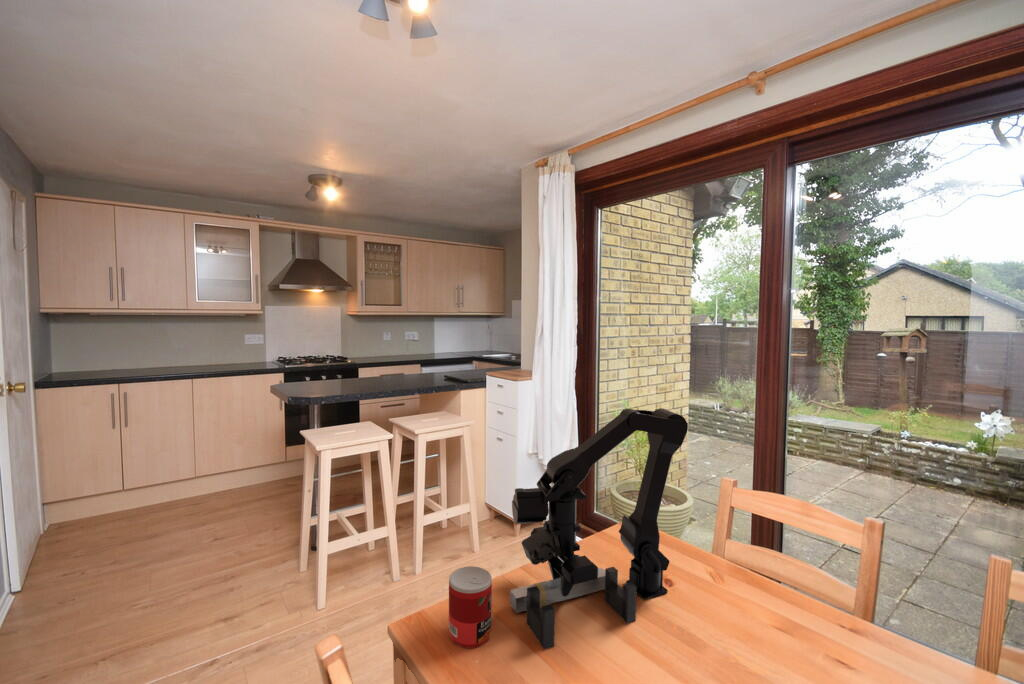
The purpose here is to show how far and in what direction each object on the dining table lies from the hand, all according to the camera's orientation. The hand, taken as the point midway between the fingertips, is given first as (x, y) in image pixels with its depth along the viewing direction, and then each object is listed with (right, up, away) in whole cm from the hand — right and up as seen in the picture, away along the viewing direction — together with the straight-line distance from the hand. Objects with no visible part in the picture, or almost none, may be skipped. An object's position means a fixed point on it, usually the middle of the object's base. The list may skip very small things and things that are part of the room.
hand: (561, 591), depth 95 cm
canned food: (-18, -2, -11) cm, 21 cm away
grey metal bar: (0, -1, 0) cm, 1 cm away
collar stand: (+3, -2, -7) cm, 8 cm away
